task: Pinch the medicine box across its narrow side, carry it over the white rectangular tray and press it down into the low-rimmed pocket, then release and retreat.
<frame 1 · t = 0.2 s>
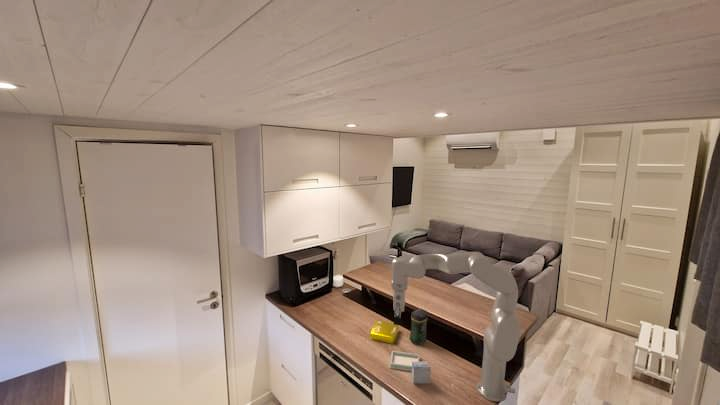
hand: (397, 318, 139), 30 cm above the worktop, fingers open, 9 cm apart
medicine box: (420, 380, 141), on the worktop
white rectangular tray: (404, 362, 153), on the worktop
element tile: (384, 335, 178), on the worktop
coffee jar: (418, 341, 172), on the worktop
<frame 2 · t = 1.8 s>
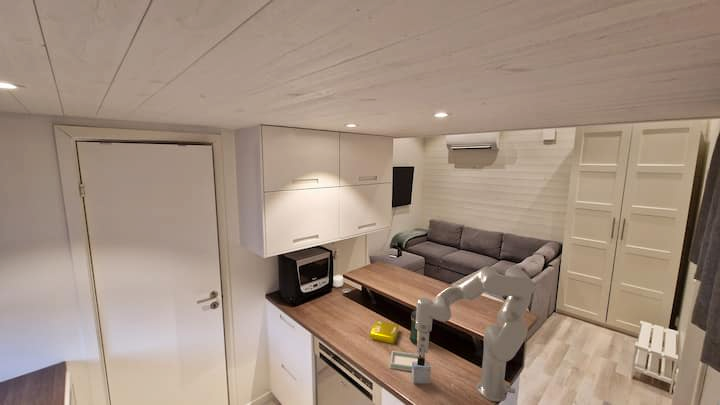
hand: (420, 358, 139), 12 cm above the worktop, fingers open, 9 cm apart
nothing on the worktop moved.
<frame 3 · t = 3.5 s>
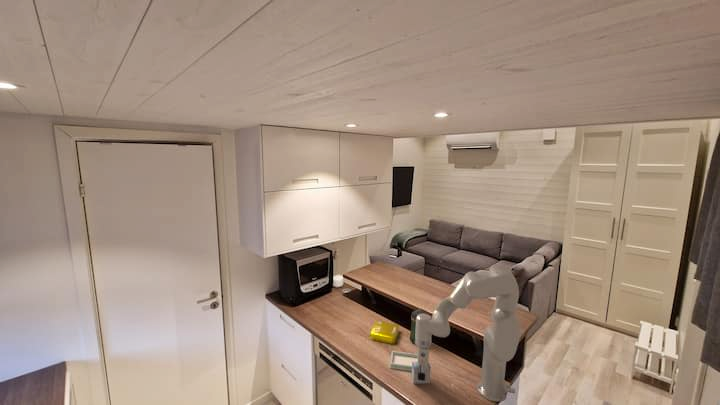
hand: (421, 375, 140), 3 cm above the worktop, fingers closed on medicine box, 5 cm apart
medicine box: (420, 380, 141), on the worktop, touching gripper
everything else where it was.
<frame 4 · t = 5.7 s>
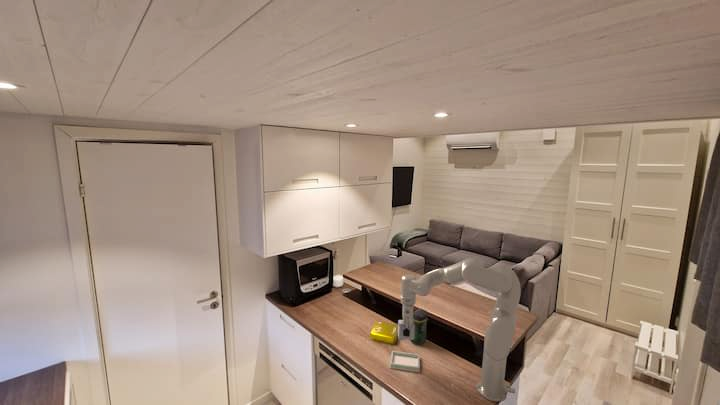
hand: (406, 332, 150), 17 cm above the worktop, fingers closed on medicine box, 5 cm apart
medicine box: (405, 337, 151), point 14 cm above the worktop, touching gripper
everything else where it was.
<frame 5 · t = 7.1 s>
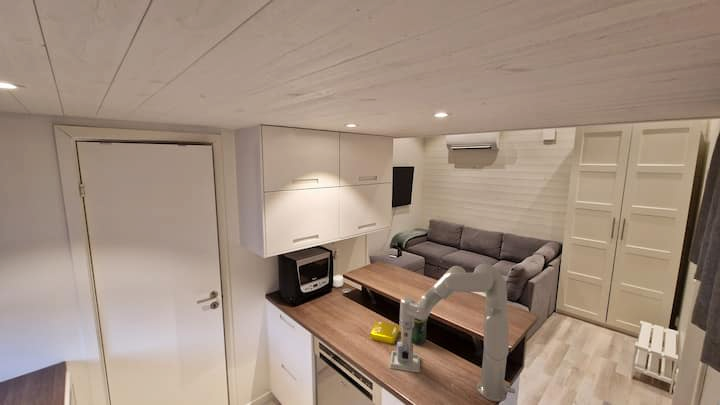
hand: (405, 354, 152), 5 cm above the worktop, fingers closed on medicine box, 5 cm apart
medicine box: (404, 359, 153), point 2 cm above the worktop, touching gripper
everything else where it was.
when the fingers open (4 cm above the worktop, at t = 8.2 s): medicine box stays where it is, resting on white rectangular tray.
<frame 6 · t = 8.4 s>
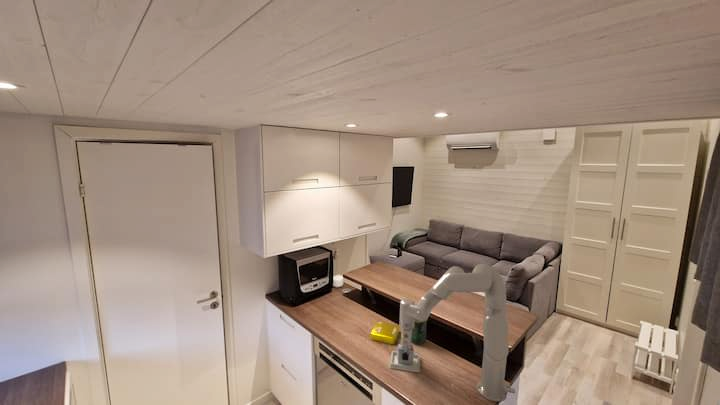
hand: (405, 355, 152), 4 cm above the worktop, fingers open, 6 cm apart
medicine box: (404, 362, 152), resting on white rectangular tray
everything else where it was.
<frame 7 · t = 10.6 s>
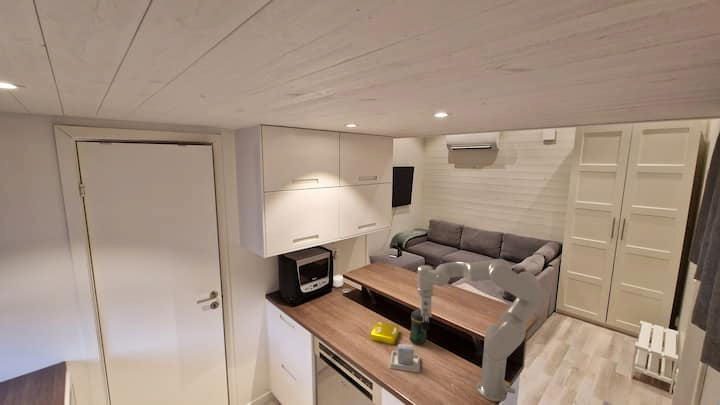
hand: (425, 324, 145), 25 cm above the worktop, fingers open, 9 cm apart
nothing on the worktop moved.
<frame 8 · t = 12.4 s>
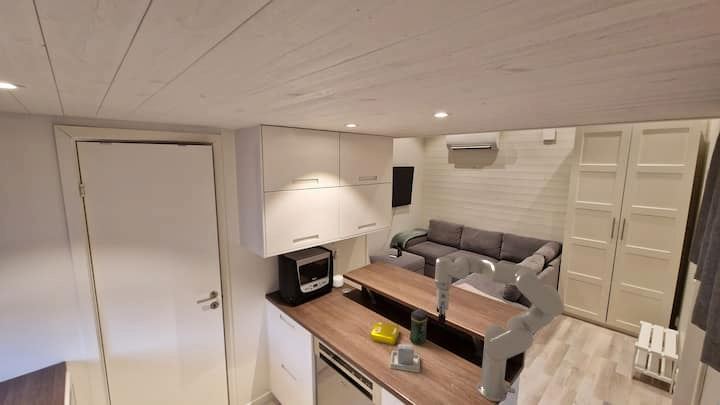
hand: (440, 317, 141), 30 cm above the worktop, fingers open, 9 cm apart
at the end: medicine box inside the target area on the white rectangular tray (0.2 cm from its centre), point 0.4 cm above the white rectangular tray's base; medicine box tilted 0°; the gripper is holding nothing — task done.
